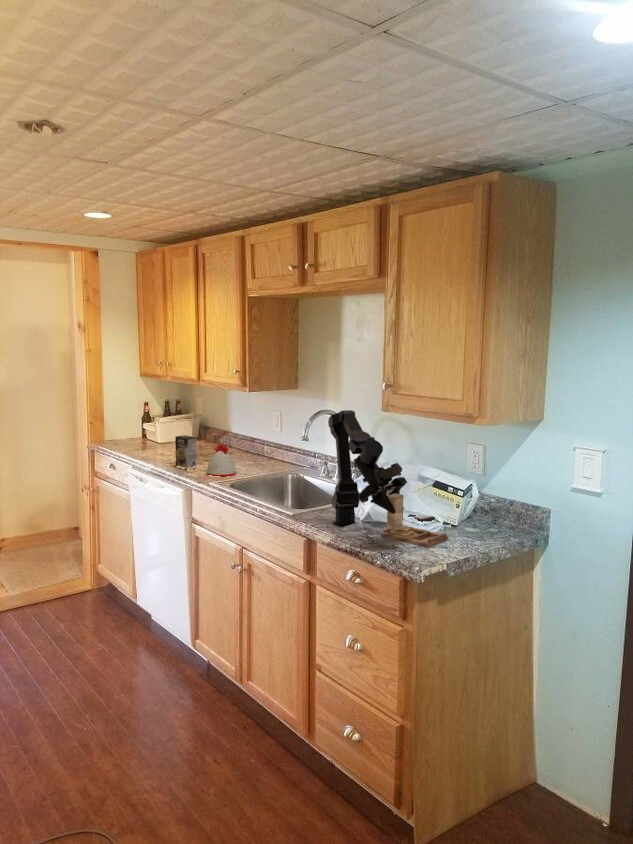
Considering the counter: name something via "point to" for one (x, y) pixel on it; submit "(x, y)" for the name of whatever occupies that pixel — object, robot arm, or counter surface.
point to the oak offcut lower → (404, 534)
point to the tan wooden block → (397, 518)
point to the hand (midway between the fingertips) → (398, 511)
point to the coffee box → (185, 451)
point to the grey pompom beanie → (221, 463)
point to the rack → (418, 537)
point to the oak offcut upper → (404, 530)
